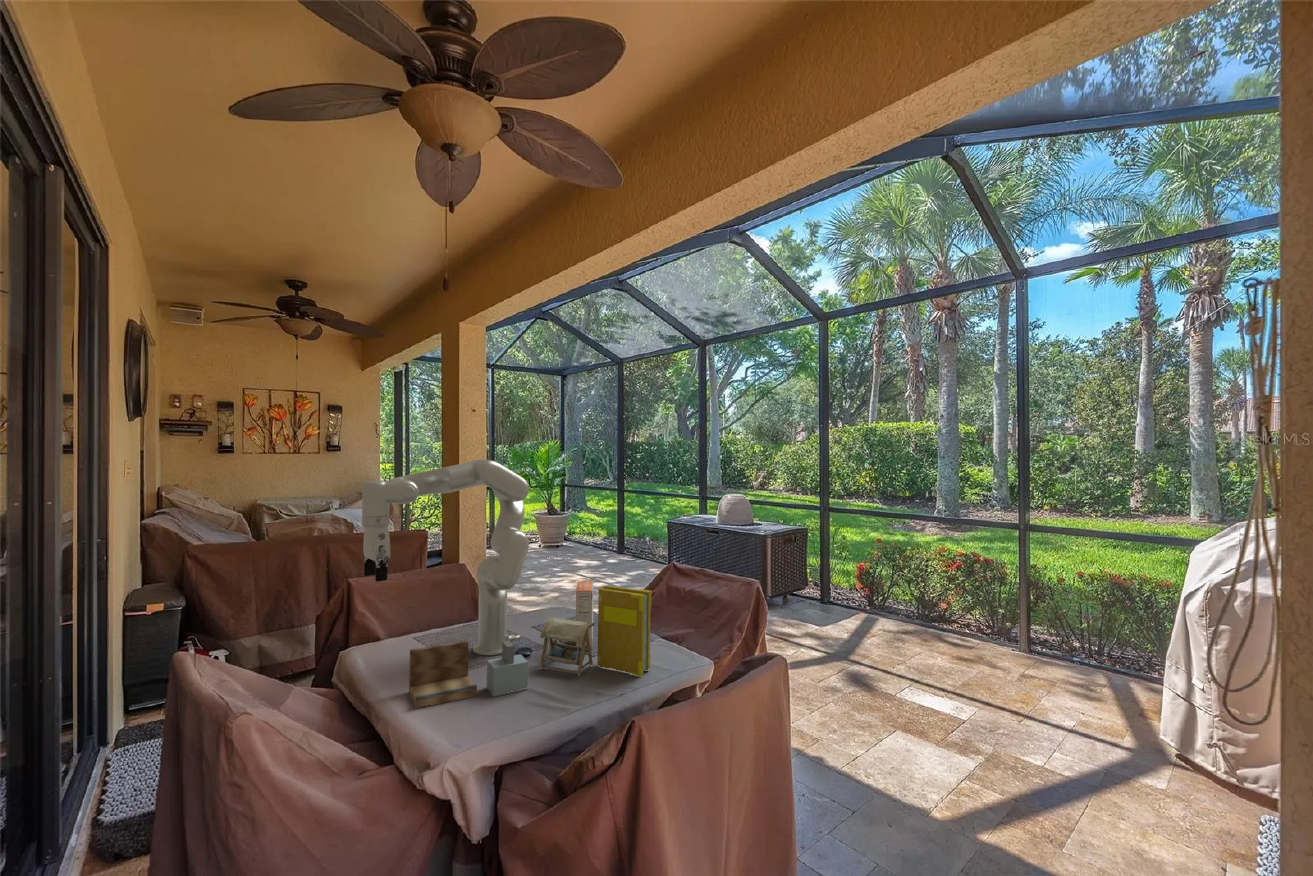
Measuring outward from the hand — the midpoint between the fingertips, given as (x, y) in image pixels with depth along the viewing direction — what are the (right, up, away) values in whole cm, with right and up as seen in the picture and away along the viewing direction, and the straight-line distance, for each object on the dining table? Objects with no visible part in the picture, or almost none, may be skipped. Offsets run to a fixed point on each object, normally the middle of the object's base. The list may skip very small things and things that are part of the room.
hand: (375, 577), depth 177 cm
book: (+74, -31, +9) cm, 81 cm away
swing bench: (+57, -31, +9) cm, 65 cm away
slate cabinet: (+42, -30, -7) cm, 52 cm away
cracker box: (+59, -31, +31) cm, 74 cm away
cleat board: (+25, -30, -13) cm, 41 cm away
